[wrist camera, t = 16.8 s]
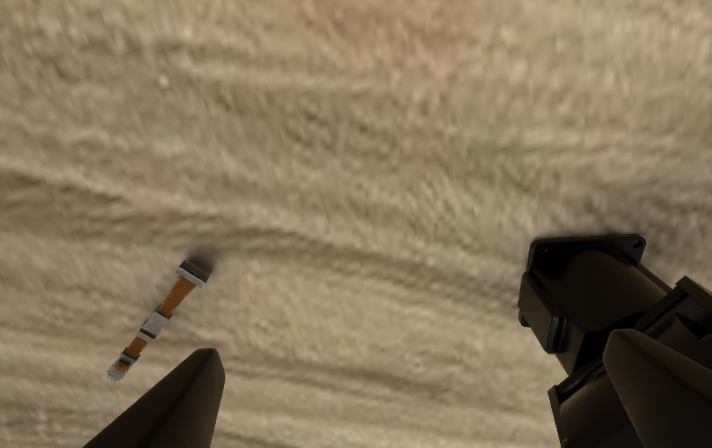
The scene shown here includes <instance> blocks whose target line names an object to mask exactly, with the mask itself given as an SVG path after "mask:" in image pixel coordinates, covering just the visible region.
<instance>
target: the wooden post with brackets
mask: <svg viewBox="0 0 712 448" xmlns="http://www.w3.org/2000/svg"><path fill="white" fill-rule="evenodd" d="M176 273H178V274H180V276H179V278H178V280H177V282H176V284H175V285H174V287H173V288H172V290H171V292H170V293H169V295H168V297H167V298H166V300H165V302H164V303H163V304H162V306H161V307H160V306H158V308H156V310H155V311H154V312H153V315H152V316H151V318H150V319H147V320H146V321H145V322H144V324H143V325H142V328H141V329H140V330H139V332H138V333H137V334H136V336H137V337H136V338H135V339H134V341H133V342H132V343H131V345H130V346H129V347H128V348H127V347H126V348H125V350H124V351H123V352H122V353H121V355H120V357H119V358H118V359H117V361H116V362H115V363H114V364H113V365H112V366H111V367H110V368H109V369H108V371H107V372H108V373H109V374H108V380H109V381H110V382H116V381H118V380H119V379H121V380H122V379H123V377H124V376H125V374H126V373H127V371H128V370H129V369H130V367H131V366H132V365H133V364H134V363H135V362H136V361H137V359H138V358H139V357H140V352H141V351H142V350H143V349H144V347H145V346H146V345H147V344H148V343H151V342H152V341H153V340H154V339H155V337H156V336H157V335H158V333H159V332H160V330H161V329H162V327H163V326H164V325H165V323H166V322H167V321H168V320H169V319H170V318H171V316H172V312H173V311H174V309H175V308H176V307H177V306H178V305H179V304H180V303H181V301H182V300H183V299H184V298H185V297H186V296H187V295H188V294H189V293H190V291H191V290H193V289H194V288H195V287H196V286H197V285H198V286H199V287H201V288H202V286H203V285H204V284H206V282H207V280H208V278H209V276H210V275H209V274H207V273H206V272H204V271H202V270H201V269H199V268H198V267H196V266H194V265H193V264H191V263H190V262H188V261H186V260H184V261H183V262H182V263H181V265H180V266H179V269H178V270H177V271H176Z"/></svg>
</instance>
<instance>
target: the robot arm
mask: <svg viewBox="0 0 712 448" xmlns="http://www.w3.org/2000/svg"><path fill="white" fill-rule="evenodd" d="M636 241H637V242H636ZM635 242H636V243H635ZM634 243H635V244H634ZM633 244H634V245H633ZM541 246H543V247H542V249H540V250H537V249H538V248H539V247H541ZM645 246H646V240H645V239H644V238H643V237H642V236H640V235H638V234H625V235H607V236H589V237H572V238H554V239H539V240H536V241H534V242H533V243H532V244H531V246H530V251H529V257H528V263H527V269H526V272H525V273H524V274H523V276H522V282H521V288H520V294H519V300H518V307H519V309H520V311H519V317H518V319H519V322H520V323H521V325H522V326H524V327H531V329H532V331H533V332H534V334H535V336H536V337H537V339H538V341H539V342H540V344H541V346H542V347H543V349H544V351H546V352H547V353H548V354H555V355H556V357H557V358H558V360H559V362H560V363H561V365H562V366H563V368H564V370H565V371H566V373H567V374H568V377H567V378H566V379H565V380H564V381H562V382H561V383H560V384H559V385H554V386H553V387H552V388H551V389H549V390H548V396H549V400H550V404H551V408H552V412H553V416H554V420H555V424H556V428H557V432H558V436H559V440H560V444H561V448H712V291H710V290H708V289H707V288H705V287H703V286H702V285H700V284H698V283H697V282H695V281H694V280H692V279H690V278H689V277H687V276H684V277H683V278H682V279H681V280H679V281H678V282H677V283H676V285H677V286H676V287H675V288H674V289H672V288H671V287H669V286H668V285H667V284H666V283H664V282H663V281H662V280H660V279H659V278H658V277H657V276H655V275H654V274H653V273H652V272H650V271H649V270H648V269H647V268H645V267H644V266H643V265H641V264H640V261H641V258H642V255H643V252H644V249H645ZM224 384H225V371H224V368H223V365H222V362H221V359H220V356H219V353H218V351H217V350H216V349H215V348H203V349H198V350H196V351H195V352H193V353H192V354H191V355H190V356H189V357H187V358H186V359H185V360H184V361H183V362H182V363H180V364H179V365H178V366H177V367H176V368H175V369H173V370H172V371H171V372H170V373H169V374H168V375H166V376H165V377H164V378H163V379H162V380H161V381H159V382H158V383H157V384H156V385H155V386H154V387H152V388H151V389H150V390H149V391H148V392H147V393H145V394H144V395H143V396H142V397H141V398H140V399H138V400H137V401H136V402H135V403H134V404H133V405H131V406H130V407H129V408H128V409H127V410H126V411H124V412H123V413H122V414H121V415H120V416H119V417H117V418H116V419H115V420H114V421H113V422H112V423H110V424H109V425H108V426H107V427H106V428H105V429H103V430H102V431H101V432H100V433H99V434H98V435H96V436H95V437H94V438H93V439H92V440H91V441H89V442H88V443H87V444H86V445H85V446H84V447H82V448H210V444H211V440H212V436H213V432H214V428H215V423H216V419H217V414H218V410H219V406H220V401H221V397H222V393H223V388H224Z"/></svg>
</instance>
